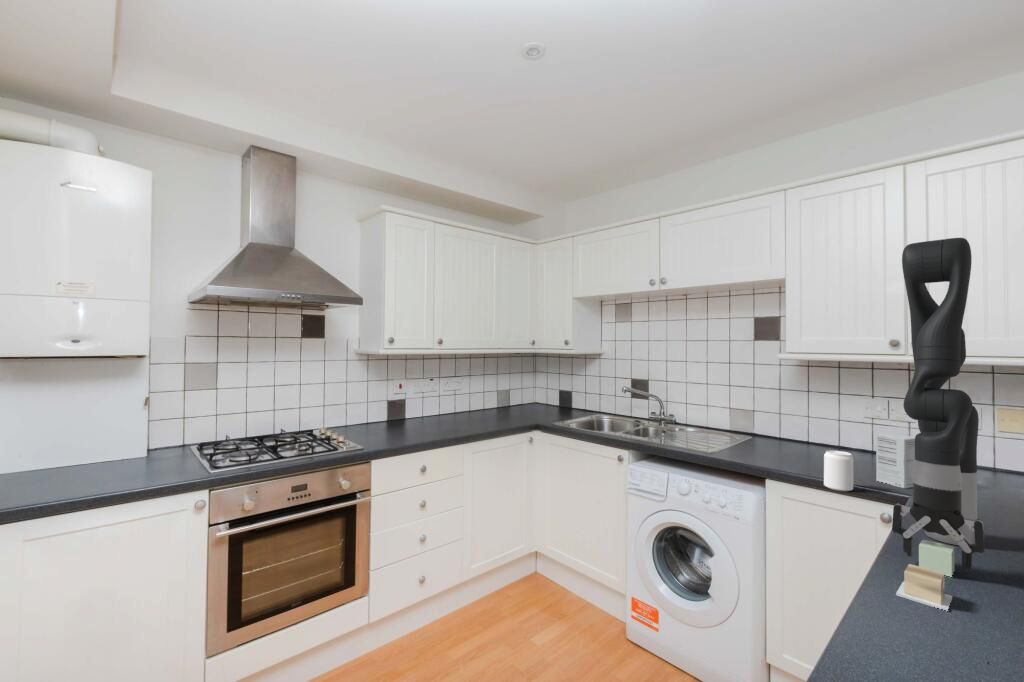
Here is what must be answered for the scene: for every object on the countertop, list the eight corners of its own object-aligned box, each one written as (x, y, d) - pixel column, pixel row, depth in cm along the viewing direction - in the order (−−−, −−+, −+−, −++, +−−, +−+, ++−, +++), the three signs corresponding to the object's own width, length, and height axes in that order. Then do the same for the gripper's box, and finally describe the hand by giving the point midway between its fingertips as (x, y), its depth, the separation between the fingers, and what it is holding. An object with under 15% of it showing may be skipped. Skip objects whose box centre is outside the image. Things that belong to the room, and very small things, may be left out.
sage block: (922, 562, 100) (922, 539, 100) (954, 570, 97) (954, 546, 97) (918, 569, 97) (918, 545, 97) (951, 578, 93) (951, 553, 93)
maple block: (909, 584, 89) (909, 563, 89) (944, 595, 85) (944, 573, 85) (904, 593, 86) (904, 571, 86) (940, 605, 82) (940, 582, 82)
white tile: (902, 583, 90) (902, 581, 90) (952, 598, 85) (952, 595, 85) (896, 595, 86) (896, 593, 86) (947, 611, 81) (947, 609, 81)
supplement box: (892, 479, 169) (892, 433, 170) (922, 486, 161) (922, 437, 161) (875, 481, 166) (875, 434, 167) (904, 488, 157) (904, 438, 158)
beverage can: (841, 485, 160) (841, 450, 160) (859, 492, 152) (859, 455, 152) (818, 484, 160) (818, 449, 160) (835, 492, 152) (835, 455, 152)
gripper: (986, 488, 94) (986, 569, 94) (896, 473, 105) (895, 546, 104) (983, 495, 89) (983, 581, 89) (889, 479, 100) (889, 555, 99)
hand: (936, 562), depth 97 cm, fingers open, 8 cm apart
